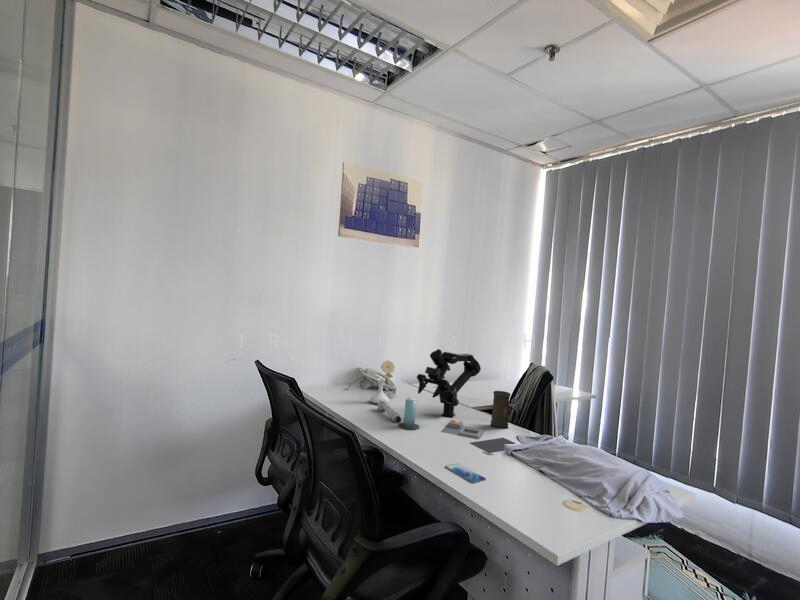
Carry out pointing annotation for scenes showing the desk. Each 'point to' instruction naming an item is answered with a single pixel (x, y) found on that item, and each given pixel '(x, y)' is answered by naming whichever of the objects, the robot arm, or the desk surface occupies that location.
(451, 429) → the housing
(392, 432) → the desk surface
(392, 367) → the flower in vase
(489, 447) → the notebook
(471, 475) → the smartphone
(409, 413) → the cartridge
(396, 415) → the white tube
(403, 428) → the pad
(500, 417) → the container
